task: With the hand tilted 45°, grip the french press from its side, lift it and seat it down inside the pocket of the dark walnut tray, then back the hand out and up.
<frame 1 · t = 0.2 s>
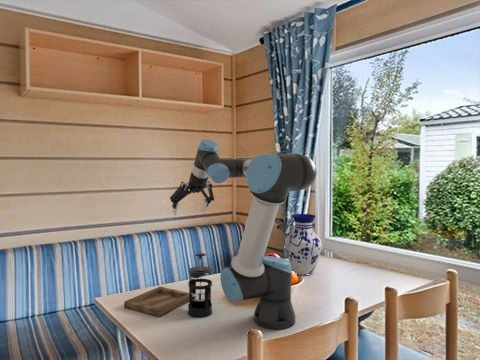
hand: (188, 212, 173), 35 cm above the table, tool tilted 35°, fingers open, 13 cm apart
vase: (302, 272, 202), on the table
french press: (199, 312, 149), on the table
walnut tray: (159, 303, 158), on the table
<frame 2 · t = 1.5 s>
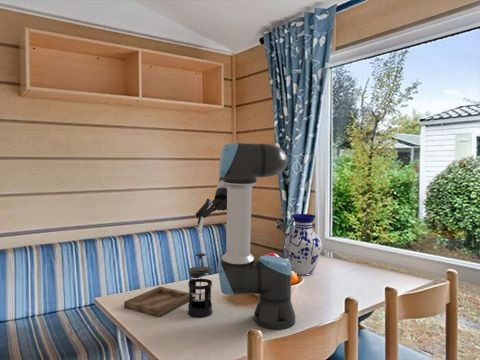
hand: (215, 232, 160), 29 cm above the table, tool tilted 45°, fingers open, 13 cm apart
nothing on the table moved.
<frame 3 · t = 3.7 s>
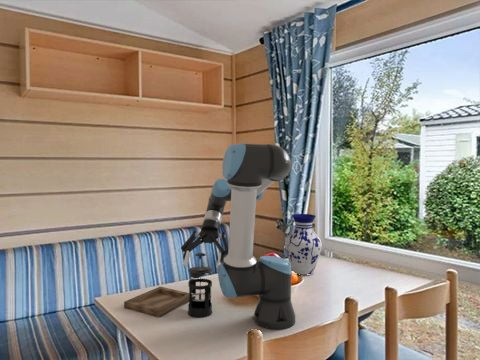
hand: (201, 267, 152), 16 cm above the table, tool tilted 45°, fingers open, 13 cm apart
nothing on the table moved.
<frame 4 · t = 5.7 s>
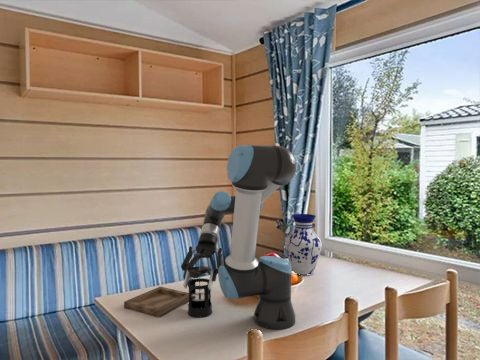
hand: (197, 287, 145), 11 cm above the table, tool tilted 45°, fingers closed on french press, 9 cm apart
french press: (199, 312, 149), on the table, touching gripper
everything else where it was.
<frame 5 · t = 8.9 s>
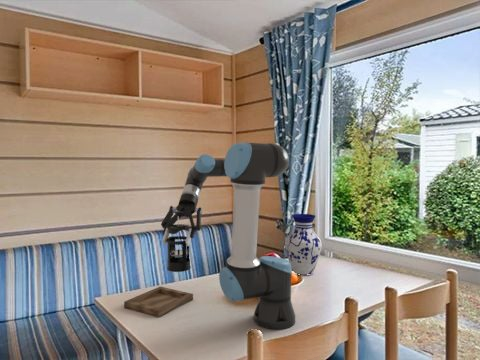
hand: (175, 243, 151), 26 cm above the table, tool tilted 45°, fingers closed on french press, 9 cm apart
french press: (178, 268, 155), point 15 cm above the table, touching gripper
everything else where it was.
when the fingers open (13 cm above the table, at t = 12.3 s): french press drops 1 cm, resting on walnut tray.
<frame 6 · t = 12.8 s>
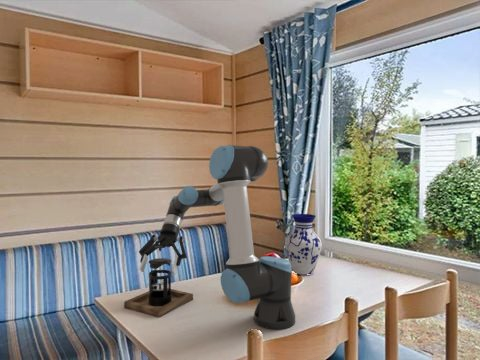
hand: (157, 271, 155), 14 cm above the table, tool tilted 45°, fingers open, 13 cm apart
french press: (159, 302, 158), point 1 cm above the table, touching walnut tray
everything else where it was.
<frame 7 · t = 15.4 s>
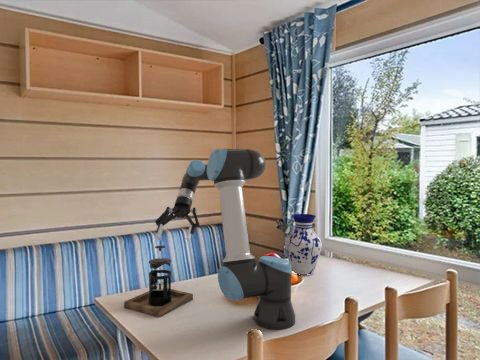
hand: (172, 239, 167), 24 cm above the table, tool tilted 45°, fingers open, 13 cm apart
nothing on the table moved.
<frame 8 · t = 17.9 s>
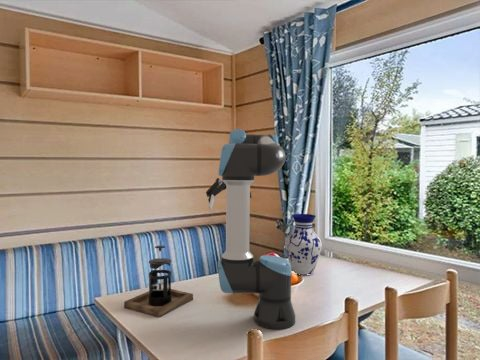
hand: (225, 208, 166), 38 cm above the table, tool tilted 45°, fingers open, 13 cm apart
nothing on the table moved.
at the end: french press inside the target area on the walnut tray (0.1 cm from its centre), point 0.6 cm above the walnut tray's base; french press tilted 0°; the gripper is holding nothing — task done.
